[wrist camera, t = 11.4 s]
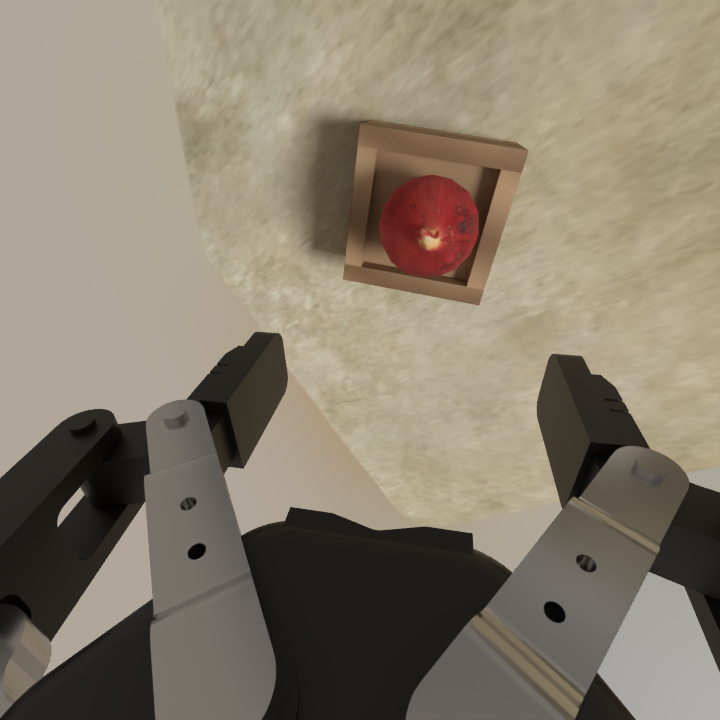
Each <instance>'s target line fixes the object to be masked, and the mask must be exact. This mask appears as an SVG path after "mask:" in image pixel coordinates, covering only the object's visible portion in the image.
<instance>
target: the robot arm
mask: <svg viewBox="0 0 720 720" xmlns="http://www.w3.org/2000/svg"><path fill="white" fill-rule="evenodd" d="M287 381H288V375H287V367H286V360H285V353H284V346H283V340H282V337H281V335H280V334H279V333H267V332H255V333H254V334H253V335H252V336H251V338H250V339H249V340H248V341H247V342H246V344H245V345H244V346H238V347H236V348H234V349H233V350H231V351H229V352H228V353H226V354H225V355H224V356H223V357H222V359H221V360H220V361H219V362H218V363H217V366H215V367H214V368H213V369H212V370H211V371H210V374H208V375H207V376H206V377H205V378H204V380H203V381H202V382H201V383H200V384H199V386H198V387H197V388H196V389H195V390H194V391H193V392H192V394H191V395H190V396H189V397H188V398H187V399H186V400H177V401H173V402H170V403H167V404H165V405H163V406H161V407H159V408H158V409H156V410H155V411H154V412H153V413H152V414H151V415H150V416H149V417H148V419H147V421H141V422H133V423H125V424H118V423H117V421H116V419H115V416H114V414H113V413H112V412H110V411H108V410H105V409H93V410H87V411H84V412H81V413H78V414H75V415H73V416H71V417H69V418H67V419H66V420H64V421H63V422H61V423H60V424H59V425H58V426H57V427H56V428H55V429H53V430H52V431H51V432H50V433H49V434H48V435H47V436H46V437H45V438H44V439H43V440H41V441H40V442H39V443H38V444H37V445H36V446H35V447H34V448H33V449H32V450H31V451H29V452H28V453H27V454H26V455H25V456H24V457H23V458H22V459H21V460H20V461H19V462H17V463H16V464H15V465H14V466H13V467H12V468H11V469H10V470H9V471H8V472H7V473H6V474H5V475H4V476H2V477H1V478H0V720H636V719H635V718H634V717H633V716H632V715H631V713H630V712H629V711H628V710H627V708H626V707H625V706H624V705H623V704H622V702H621V701H620V700H619V699H618V697H617V696H616V695H615V694H614V693H613V691H612V690H611V689H610V688H609V686H608V685H607V684H606V683H605V682H604V680H603V679H602V678H601V677H600V675H599V674H598V673H597V671H598V669H599V667H600V665H601V663H602V661H603V659H604V657H605V656H606V653H607V652H608V649H609V648H610V646H611V644H612V641H613V639H614V638H615V636H616V634H617V632H618V630H619V628H620V626H621V624H622V622H623V620H624V618H625V616H626V614H627V613H628V611H629V609H630V607H631V605H632V603H633V601H634V599H635V597H636V595H637V593H638V591H639V589H640V587H641V585H642V583H643V581H644V579H645V577H646V575H647V573H648V572H651V573H653V574H656V575H658V576H661V577H663V578H665V579H668V580H670V581H673V582H675V583H678V584H680V585H682V586H684V587H685V589H686V591H687V594H688V596H689V599H690V601H691V604H692V606H693V609H694V611H695V613H696V616H697V618H698V621H699V623H700V625H701V628H702V630H703V632H704V635H705V638H706V640H707V642H708V645H709V647H710V649H711V652H712V654H713V657H714V659H715V662H716V664H717V666H718V669H719V671H720V493H719V492H716V491H713V490H710V489H707V488H704V487H701V486H698V485H695V484H692V483H690V482H689V479H688V477H687V475H686V473H685V472H684V471H683V469H682V468H681V467H680V466H679V465H678V464H677V463H675V462H674V461H673V460H671V459H670V458H668V457H667V456H665V455H663V454H661V453H659V452H656V451H654V450H651V449H650V448H649V446H648V444H647V442H646V441H645V439H644V437H643V435H642V433H641V432H640V430H639V428H638V426H637V425H636V423H635V421H634V419H633V418H632V416H631V414H629V413H628V412H629V410H628V409H627V407H626V405H625V403H622V398H621V396H620V395H619V393H618V391H617V389H616V388H615V386H613V385H612V384H611V383H610V382H608V381H607V380H606V379H605V378H604V377H602V376H601V375H593V374H591V373H590V371H589V369H588V367H587V365H586V363H585V361H584V359H583V357H582V356H575V355H561V354H552V355H551V356H550V358H549V360H548V363H547V367H546V371H545V374H544V378H543V382H542V385H541V389H540V392H539V396H538V401H537V418H538V422H539V425H540V429H541V433H542V436H543V440H544V444H545V447H546V451H547V455H548V458H549V462H550V466H551V469H552V473H553V477H554V480H555V484H556V488H557V491H558V495H559V499H560V502H561V506H562V511H561V512H560V513H559V515H558V516H557V517H556V518H555V520H554V521H553V522H552V524H551V525H550V526H549V527H548V529H547V530H546V531H545V532H544V534H543V535H542V536H541V537H540V539H539V540H538V541H537V543H536V544H535V545H534V547H533V548H532V549H531V550H530V551H529V553H528V554H527V555H526V556H525V558H524V559H523V560H522V562H521V563H520V564H519V565H518V567H517V568H516V569H515V570H514V572H513V573H512V572H511V571H510V570H509V569H507V568H506V567H505V566H504V565H502V564H501V563H499V562H498V561H496V560H495V559H493V558H492V557H489V556H487V555H486V554H484V553H482V552H480V551H477V550H475V549H473V535H472V533H466V532H459V531H452V530H445V529H438V528H431V527H415V528H404V529H393V530H381V531H380V530H379V531H378V530H373V529H370V528H368V527H365V526H363V525H360V524H358V523H356V522H353V521H351V520H348V519H346V518H343V517H340V516H338V515H336V514H333V513H327V512H321V511H314V510H306V509H299V508H293V507H290V510H289V512H288V515H287V518H286V520H285V521H282V522H276V523H271V524H267V525H265V526H261V527H258V528H256V529H254V530H251V531H249V532H247V533H245V534H244V535H242V536H241V532H240V529H239V526H238V522H237V519H236V515H235V512H234V509H233V505H232V502H231V498H230V495H229V491H228V488H227V484H226V481H225V478H224V473H225V472H226V470H227V468H228V467H236V468H244V467H245V465H246V463H247V461H248V459H249V457H250V456H251V454H252V452H253V450H254V448H255V447H256V445H257V443H258V441H259V439H260V438H261V436H262V434H263V432H264V430H265V428H266V427H267V425H268V423H269V421H270V419H271V417H272V415H273V414H274V412H275V410H276V408H277V406H278V405H279V402H280V401H281V399H282V397H283V395H284V394H285V391H286V388H287ZM80 487H81V489H82V491H83V492H84V494H85V495H84V496H83V498H82V499H81V500H80V501H79V502H78V504H77V505H76V506H75V507H74V509H73V510H72V511H71V512H70V513H69V515H68V516H67V517H66V518H65V519H64V521H63V522H62V523H61V524H60V525H59V527H57V519H58V516H59V513H60V511H61V509H62V507H63V506H64V505H65V504H66V503H67V501H68V500H69V499H70V498H71V497H72V496H73V494H74V493H75V492H76V491H77V490H78V489H79V488H80ZM144 502H146V514H147V527H148V541H149V554H150V566H151V579H152V593H153V599H151V600H150V601H149V602H147V603H146V604H145V605H143V606H142V607H140V608H139V609H137V610H136V611H135V612H133V613H132V614H131V615H129V616H128V617H126V618H125V619H124V620H122V621H121V622H119V623H118V624H117V625H115V626H114V627H112V628H111V629H110V630H108V631H107V632H105V633H104V634H103V635H101V636H100V637H98V638H97V639H96V640H94V641H93V642H91V643H90V644H89V645H87V646H86V647H84V648H83V649H82V650H80V651H79V652H77V653H76V654H75V655H73V656H72V657H71V658H69V659H68V660H66V661H65V662H63V663H62V664H61V665H59V666H58V667H56V668H55V669H54V670H52V671H51V672H49V673H48V674H47V675H45V676H43V674H44V673H45V671H46V669H47V667H48V663H49V661H50V657H51V643H50V642H51V641H52V639H53V638H54V636H55V634H56V633H57V632H58V630H59V629H60V627H61V626H62V624H63V623H64V621H65V620H66V618H67V617H68V615H69V614H70V612H71V611H72V609H73V608H74V606H75V605H76V603H77V602H78V600H79V599H80V597H81V596H82V594H83V593H84V591H85V590H86V588H87V587H88V586H89V584H90V583H91V581H92V580H93V578H94V576H95V575H96V574H97V572H98V571H99V569H100V568H101V566H102V565H103V563H104V562H105V560H106V559H107V557H108V556H109V554H110V553H111V551H112V550H113V548H114V547H115V545H116V544H117V542H118V540H119V539H120V538H121V536H122V535H123V533H124V532H125V530H126V529H127V527H128V526H129V524H130V523H131V521H132V520H133V518H134V517H135V515H136V514H137V512H138V511H139V510H140V508H141V506H142V505H143V504H144Z"/></svg>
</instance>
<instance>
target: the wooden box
mask: <svg viewBox="0 0 720 720" xmlns="http://www.w3.org/2000/svg"><path fill="white" fill-rule="evenodd" d="M527 154H528V150H527V149H525V148H524V147H522V146H521V145H519V144H518V143H514V142H508V141H501V140H495V139H489V138H482V137H476V136H470V135H464V134H457V133H451V132H445V131H438V130H432V129H426V128H420V127H413V126H407V125H401V124H394V123H388V122H382V121H376V120H370V121H367V122H364V123H361V124H360V129H359V138H358V148H357V157H356V166H355V175H354V184H353V193H352V202H351V212H350V221H349V230H348V239H347V248H346V257H345V266H344V276H343V279H344V280H349V281H355V282H360V283H365V284H370V285H376V286H381V287H386V288H391V289H396V290H402V291H407V292H412V293H417V294H423V295H428V296H433V297H438V298H444V299H449V300H454V301H459V302H464V303H470V304H475V305H479V304H480V301H481V297H482V294H483V291H484V288H485V285H486V282H487V279H488V276H489V273H490V269H491V266H492V263H493V260H494V257H495V254H496V251H497V248H498V245H499V241H500V238H501V235H502V232H503V229H504V226H505V223H506V220H507V217H508V213H509V210H510V207H511V204H512V201H513V198H514V195H515V192H516V189H517V185H518V182H519V179H520V176H521V173H522V170H523V167H524V164H525V161H526V157H527ZM432 174H433V175H437V176H441V177H446V178H450V179H452V180H454V181H455V182H456V183H458V184H459V185H460V186H462V187H463V188H465V189H466V190H467V191H468V192H469V194H470V196H471V198H472V200H473V202H474V204H475V206H476V208H477V210H478V237H477V239H476V242H475V244H474V246H473V249H472V251H471V253H470V255H469V256H468V257H467V258H466V259H465V260H464V261H463V262H462V263H461V264H460V265H459V266H458V267H457V268H456V269H455V270H452V271H450V272H448V273H446V274H443V275H441V276H436V277H425V278H421V277H417V276H414V275H410V274H406V273H404V272H403V271H402V270H400V269H399V268H398V267H397V266H396V265H394V264H393V263H392V262H391V261H390V259H389V257H388V255H387V253H386V251H385V249H384V248H383V246H382V244H381V238H380V229H379V222H380V218H381V214H382V210H383V206H384V204H385V203H386V201H387V200H388V198H389V197H390V196H391V194H392V193H393V191H394V190H395V189H396V188H397V187H399V186H401V185H402V184H404V183H406V182H407V181H409V180H411V179H412V178H416V177H421V176H426V175H432Z"/></svg>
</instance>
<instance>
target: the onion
mask: <svg viewBox="0 0 720 720" xmlns="http://www.w3.org/2000/svg"><path fill="white" fill-rule="evenodd" d="M379 229H380V238H381V244H382V246H383V248H384V249H385V251H386V253H387V255H388V257H389V259H390V261H391V262H392V263H393V264H394V265H396V266H397V267H398V268H399V269H400V270H402V271H403V272H404V273H406V274H410V275H414V276H417V277H421V278H425V277H436V276H441V275H443V274H446V273H448V272H450V271H452V270H455V269H456V268H457V267H458V266H459V265H460V264H461V263H462V262H463V261H464V260H465V259H466V258H467V257H468V256H469V255H470V253H471V251H472V249H473V246H474V244H475V242H476V239H477V237H478V210H477V208H476V206H475V204H474V202H473V200H472V198H471V196H470V194H469V192H468V191H467V190H466V189H465V188H463V187H462V186H460V185H459V184H458V183H456V182H455V181H454V180H452V179H450V178H446V177H441V176H437V175H433V174H432V175H426V176H421V177H416V178H412V179H411V180H409V181H407V182H406V183H404V184H402V185H401V186H399V187H397V188H396V189H395V190H394V191H393V193H392V194H391V196H390V197H389V198H388V200H387V201H386V203H385V204H384V206H383V210H382V214H381V218H380V222H379Z"/></svg>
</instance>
